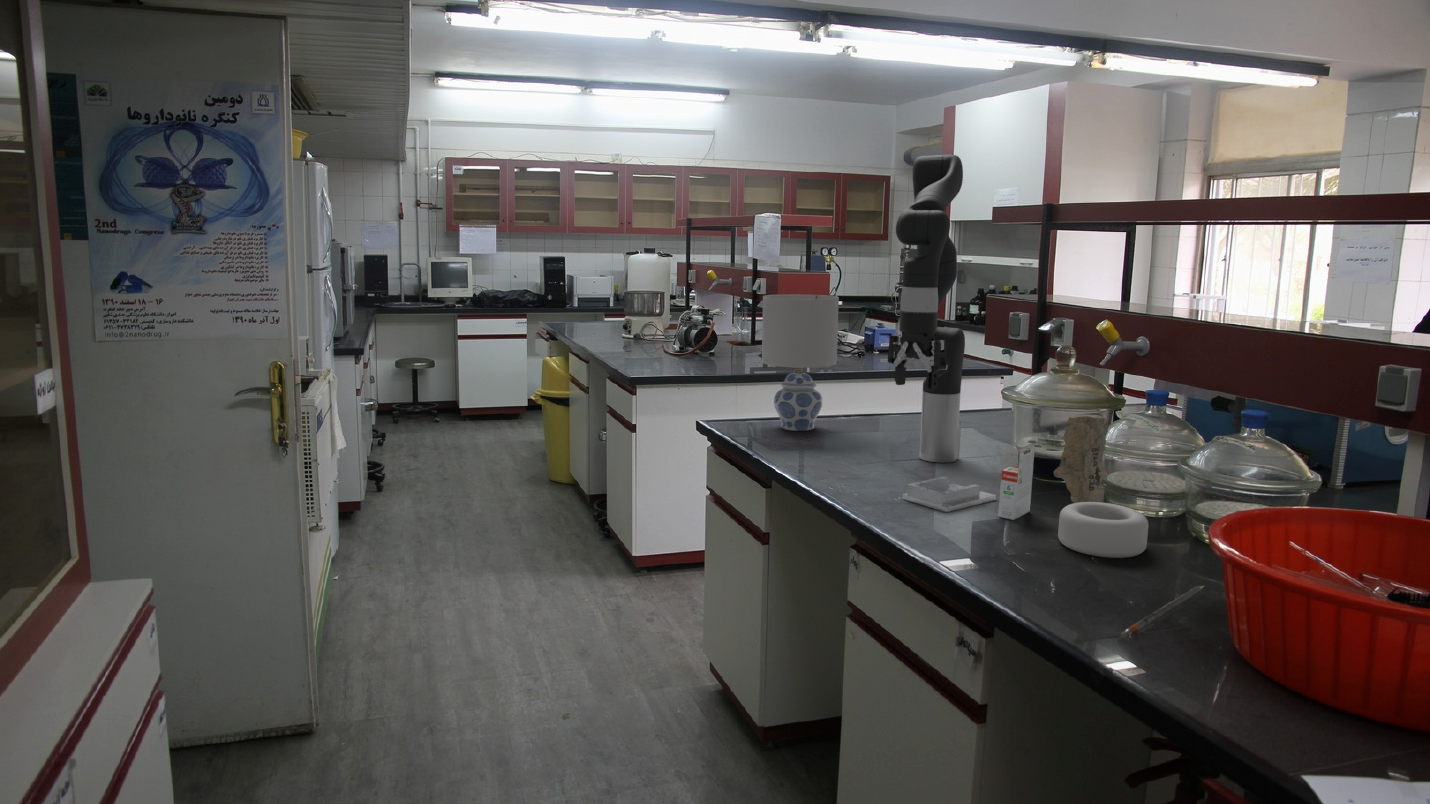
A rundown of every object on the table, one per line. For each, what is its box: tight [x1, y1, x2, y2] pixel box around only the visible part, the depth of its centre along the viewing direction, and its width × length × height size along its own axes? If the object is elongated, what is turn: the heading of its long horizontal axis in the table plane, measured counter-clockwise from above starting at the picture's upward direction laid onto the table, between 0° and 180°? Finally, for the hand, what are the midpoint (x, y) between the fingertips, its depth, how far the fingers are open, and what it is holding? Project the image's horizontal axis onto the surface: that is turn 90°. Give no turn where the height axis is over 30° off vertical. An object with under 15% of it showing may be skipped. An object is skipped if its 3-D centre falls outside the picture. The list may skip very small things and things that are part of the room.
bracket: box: [902, 475, 997, 513], centre depth 200 cm, size 16×12×4 cm
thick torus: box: [1057, 501, 1149, 559], centre depth 171 cm, size 15×15×7 cm
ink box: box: [997, 442, 1035, 521], centre depth 189 cm, size 4×8×15 cm, turn 140°
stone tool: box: [1053, 414, 1109, 504], centre depth 193 cm, size 12×6×20 cm, turn 96°
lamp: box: [761, 293, 840, 432], centre depth 270 cm, size 22×22×38 cm
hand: (915, 387), depth 195 cm, fingers open, 8 cm apart
